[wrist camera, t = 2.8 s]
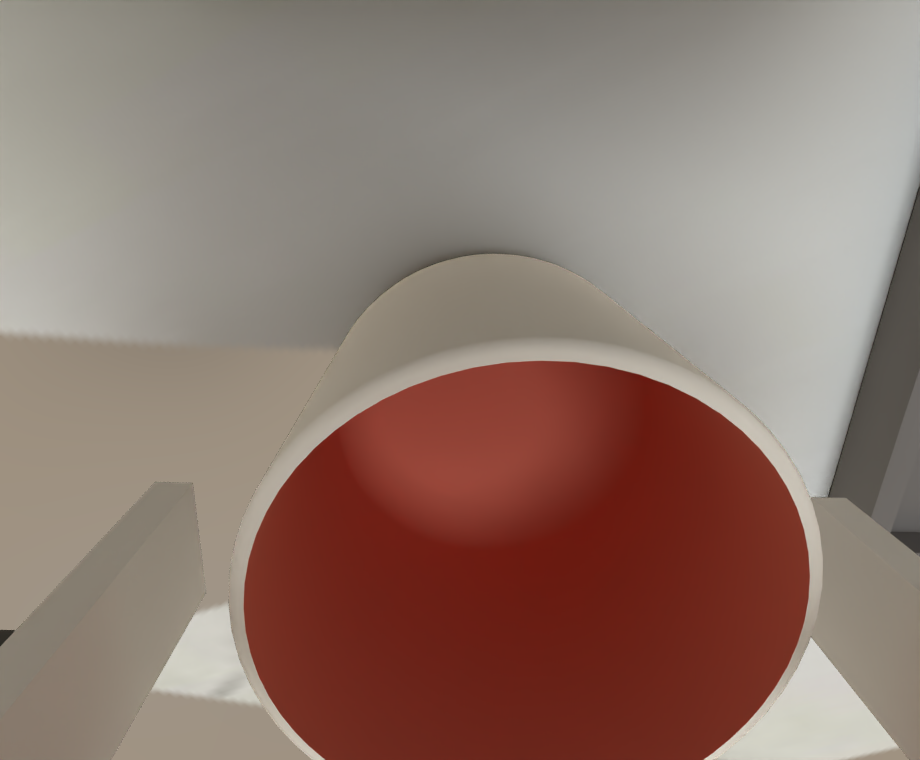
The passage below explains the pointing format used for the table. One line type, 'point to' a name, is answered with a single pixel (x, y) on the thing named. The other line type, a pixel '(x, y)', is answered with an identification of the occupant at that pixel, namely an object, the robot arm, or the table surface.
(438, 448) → the cup
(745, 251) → the table surface
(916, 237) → the tray
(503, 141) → the table surface
